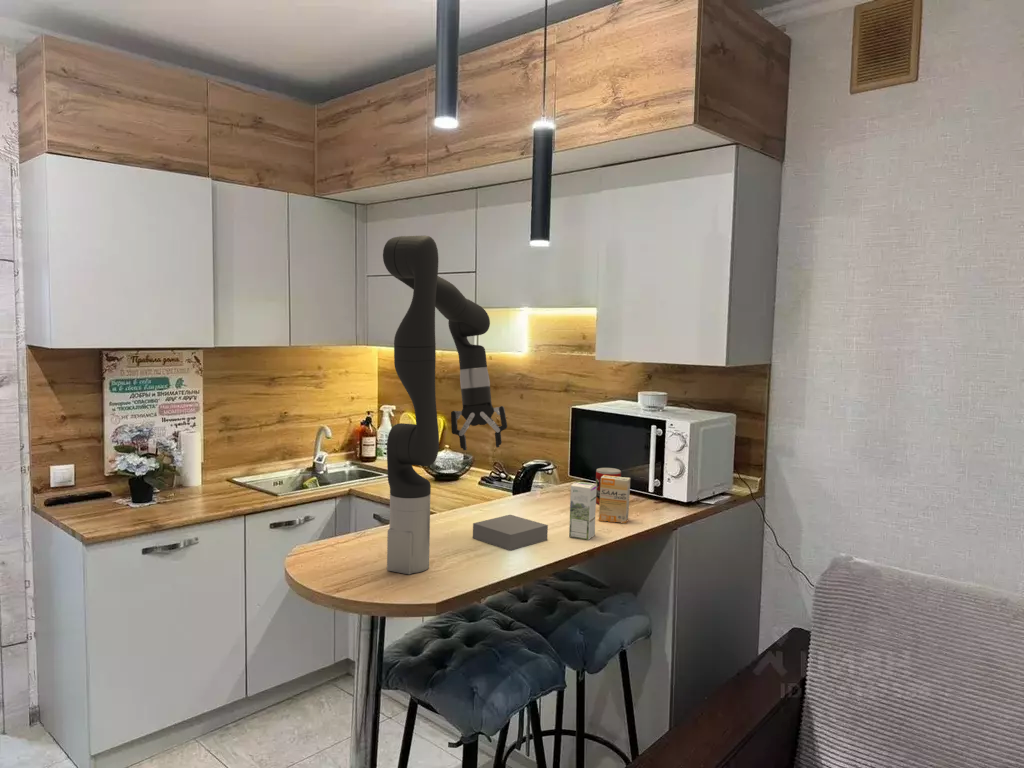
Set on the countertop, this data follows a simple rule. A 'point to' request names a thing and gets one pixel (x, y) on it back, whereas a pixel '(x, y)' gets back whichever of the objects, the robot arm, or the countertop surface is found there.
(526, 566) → the countertop surface
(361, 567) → the countertop surface
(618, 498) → the supplement box
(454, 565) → the countertop surface
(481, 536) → the plate
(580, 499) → the syrup box
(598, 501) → the canned food
